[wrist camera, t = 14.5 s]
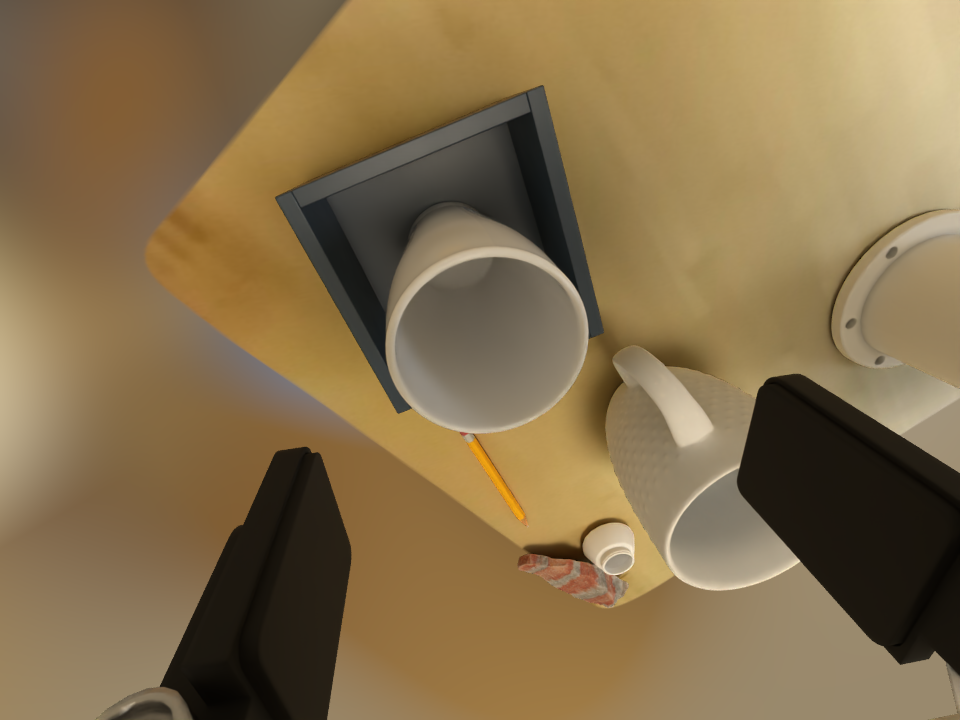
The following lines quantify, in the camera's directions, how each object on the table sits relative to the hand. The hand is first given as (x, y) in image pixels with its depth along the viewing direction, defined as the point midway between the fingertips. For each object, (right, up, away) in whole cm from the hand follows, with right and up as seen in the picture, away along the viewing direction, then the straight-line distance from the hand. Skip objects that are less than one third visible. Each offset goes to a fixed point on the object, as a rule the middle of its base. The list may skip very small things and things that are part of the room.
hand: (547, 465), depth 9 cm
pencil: (0, -8, +28) cm, 29 cm away
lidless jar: (+11, -15, +34) cm, 38 cm away
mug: (+12, 0, +26) cm, 29 cm away
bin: (-3, +10, +19) cm, 21 cm away
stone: (+7, -20, +35) cm, 41 cm away
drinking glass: (-3, +9, +18) cm, 21 cm away
